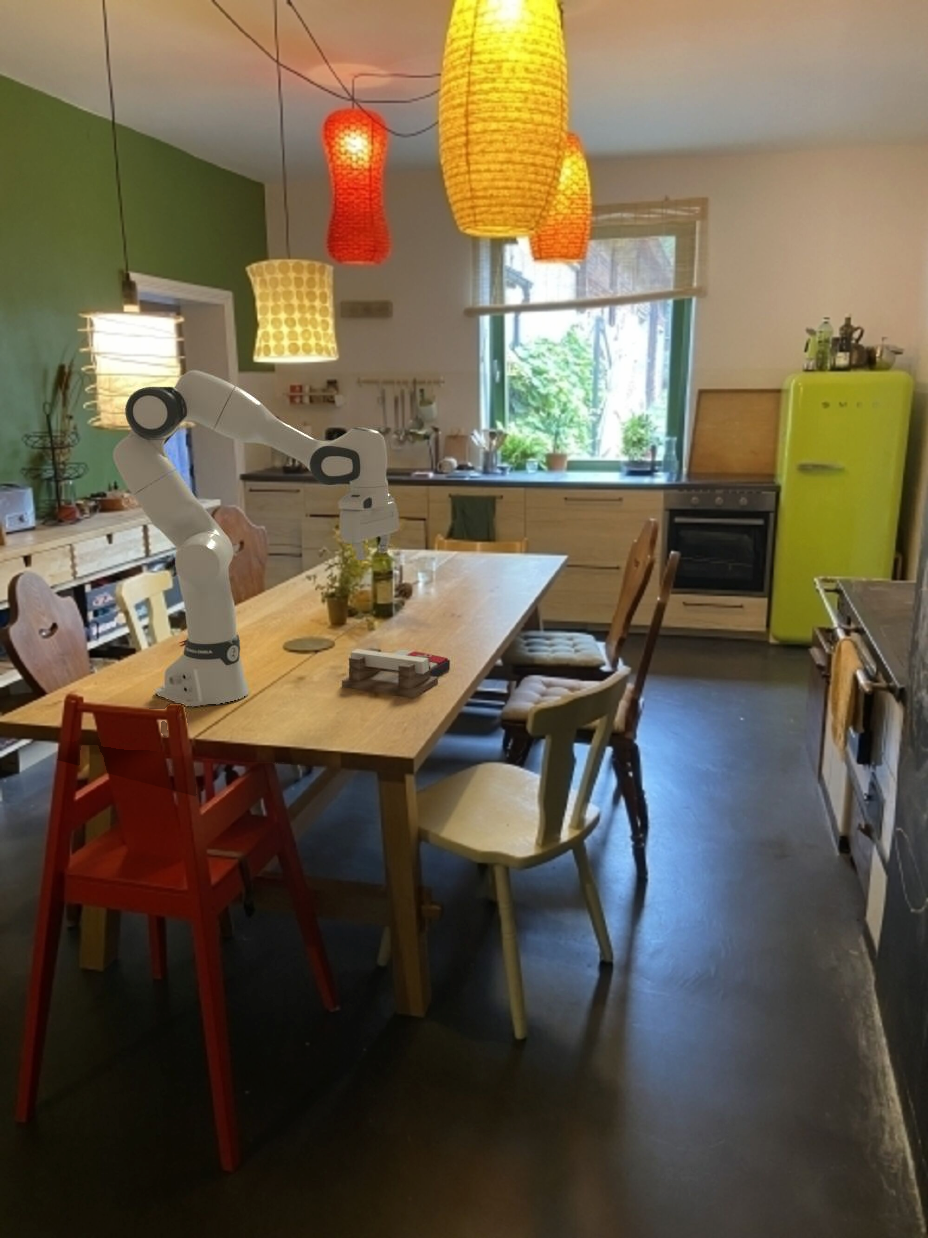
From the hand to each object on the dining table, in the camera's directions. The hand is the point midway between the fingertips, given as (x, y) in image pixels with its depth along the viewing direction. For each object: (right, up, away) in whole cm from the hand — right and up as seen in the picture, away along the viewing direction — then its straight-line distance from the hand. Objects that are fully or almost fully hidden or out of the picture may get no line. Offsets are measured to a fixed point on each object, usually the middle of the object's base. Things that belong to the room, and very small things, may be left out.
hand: (372, 555), depth 211 cm
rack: (+4, -31, +4) cm, 32 cm away
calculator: (+9, -29, +14) cm, 34 cm away
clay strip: (+4, -27, +3) cm, 27 cm away
